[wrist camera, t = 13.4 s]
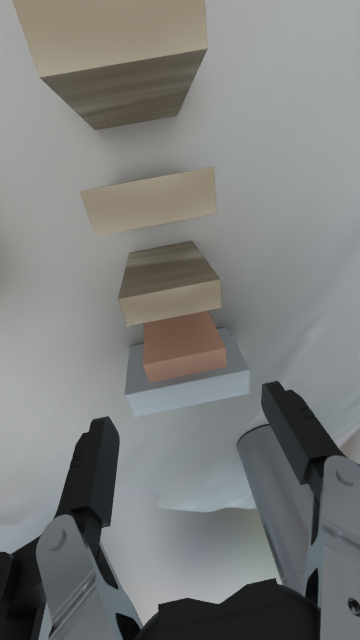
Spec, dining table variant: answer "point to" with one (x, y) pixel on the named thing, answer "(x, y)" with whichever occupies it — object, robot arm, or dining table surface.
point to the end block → (186, 382)
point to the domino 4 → (182, 346)
